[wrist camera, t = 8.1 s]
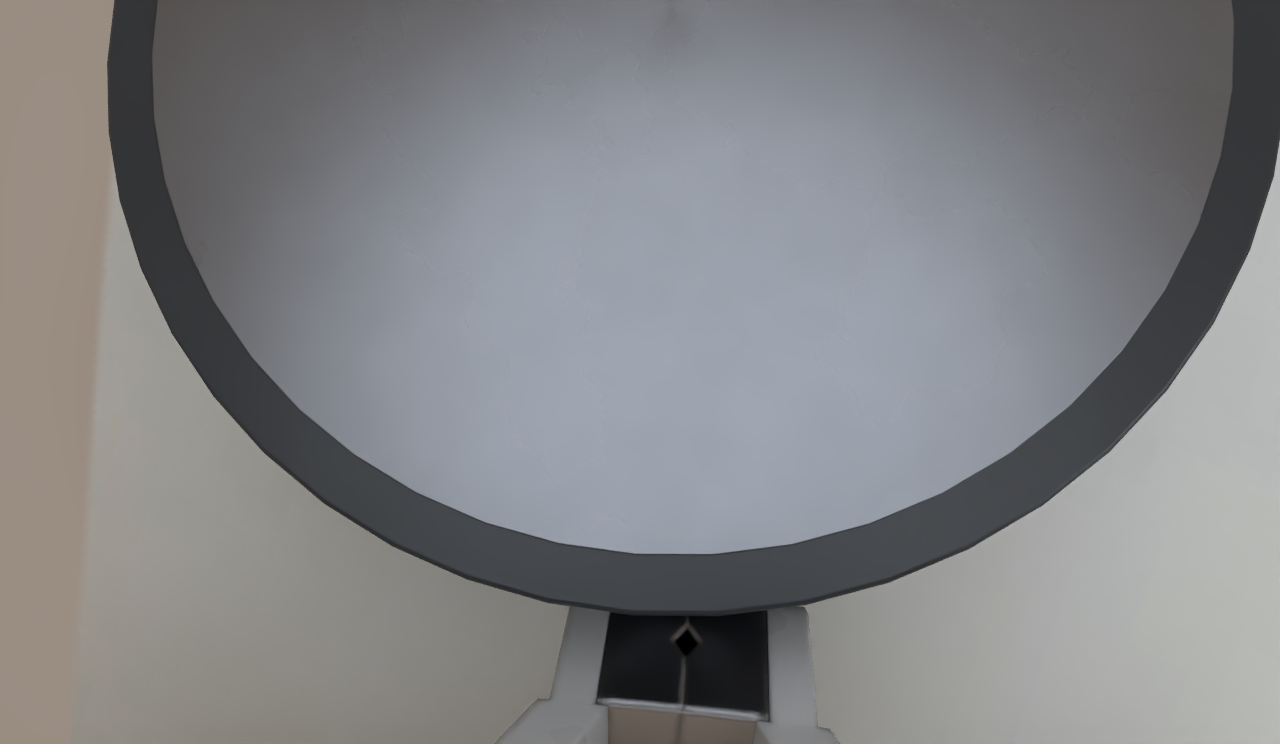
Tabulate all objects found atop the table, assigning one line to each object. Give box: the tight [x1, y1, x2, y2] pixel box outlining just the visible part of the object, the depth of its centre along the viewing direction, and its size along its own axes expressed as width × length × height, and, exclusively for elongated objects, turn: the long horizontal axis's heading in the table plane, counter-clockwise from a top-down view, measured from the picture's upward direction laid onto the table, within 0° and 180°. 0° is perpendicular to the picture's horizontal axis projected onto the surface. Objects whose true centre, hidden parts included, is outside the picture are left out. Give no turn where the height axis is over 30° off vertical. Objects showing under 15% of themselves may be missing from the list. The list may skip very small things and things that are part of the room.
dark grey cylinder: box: [107, 0, 1280, 616], centre depth 12 cm, size 17×11×9 cm, turn 176°
